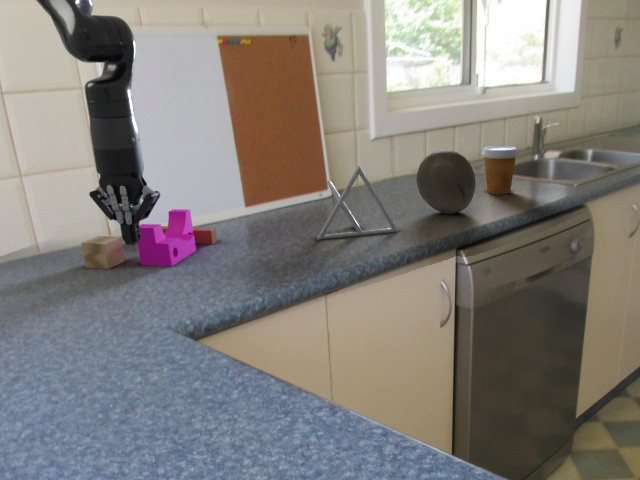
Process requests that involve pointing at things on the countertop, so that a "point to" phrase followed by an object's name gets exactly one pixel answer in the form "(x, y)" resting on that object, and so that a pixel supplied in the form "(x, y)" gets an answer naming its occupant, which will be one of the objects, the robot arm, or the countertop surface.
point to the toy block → (167, 240)
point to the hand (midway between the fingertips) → (132, 243)
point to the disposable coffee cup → (499, 168)
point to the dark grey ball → (446, 181)
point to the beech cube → (103, 252)
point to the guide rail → (201, 235)
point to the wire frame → (349, 214)
